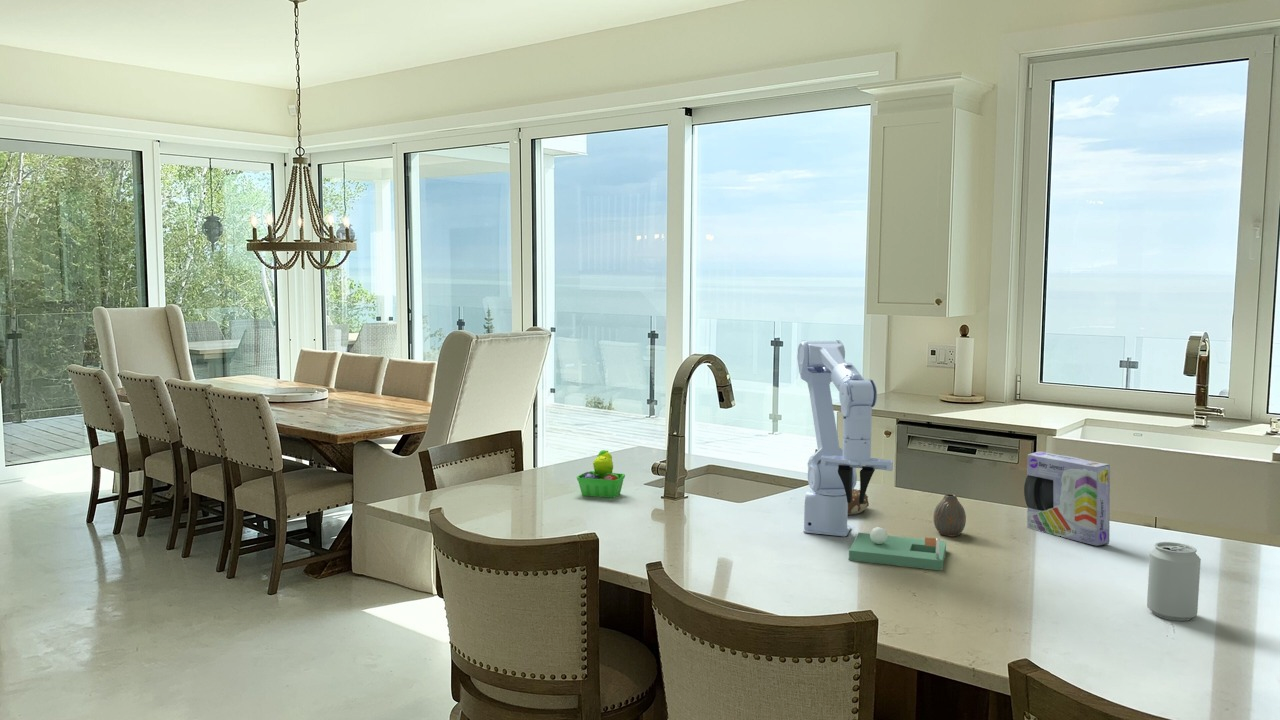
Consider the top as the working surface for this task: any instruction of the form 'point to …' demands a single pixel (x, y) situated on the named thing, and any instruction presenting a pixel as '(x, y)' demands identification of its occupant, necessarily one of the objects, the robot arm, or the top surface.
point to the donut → (857, 503)
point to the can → (1173, 581)
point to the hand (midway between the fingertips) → (855, 502)
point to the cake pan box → (1068, 497)
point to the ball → (878, 535)
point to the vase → (949, 516)
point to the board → (897, 552)
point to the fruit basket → (601, 478)
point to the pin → (933, 544)
